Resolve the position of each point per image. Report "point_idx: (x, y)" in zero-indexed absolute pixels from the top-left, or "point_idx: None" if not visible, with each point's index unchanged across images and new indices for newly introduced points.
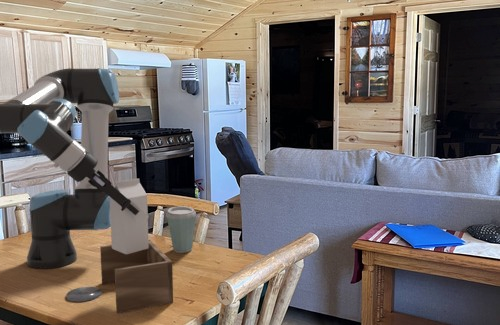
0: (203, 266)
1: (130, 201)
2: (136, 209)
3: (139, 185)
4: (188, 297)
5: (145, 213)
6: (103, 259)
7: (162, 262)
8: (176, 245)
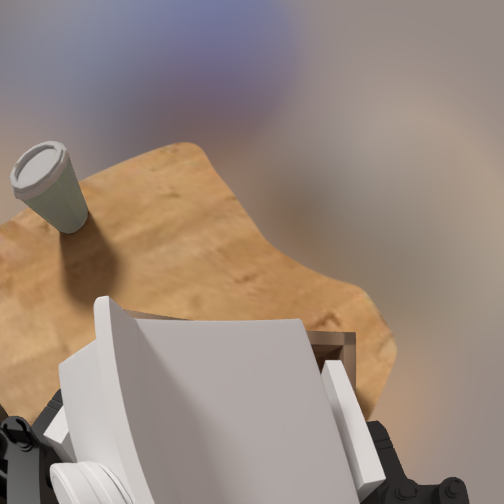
0: (173, 224)
1: (457, 479)
2: (388, 438)
3: (196, 352)
4: (312, 317)
5: (348, 380)
6: None
7: (349, 358)
8: (69, 225)
